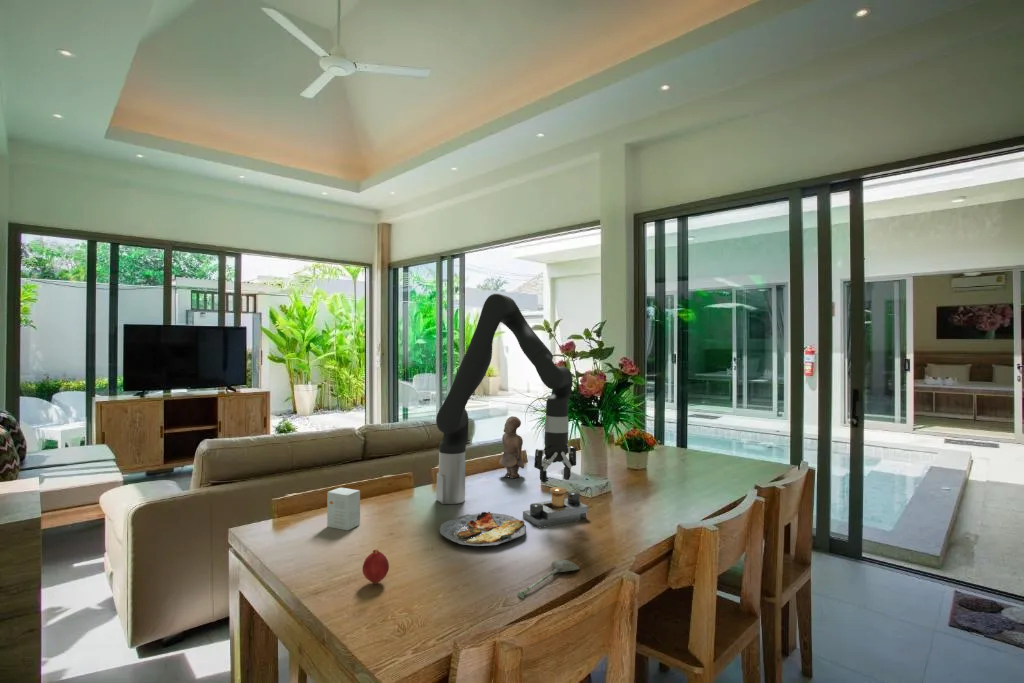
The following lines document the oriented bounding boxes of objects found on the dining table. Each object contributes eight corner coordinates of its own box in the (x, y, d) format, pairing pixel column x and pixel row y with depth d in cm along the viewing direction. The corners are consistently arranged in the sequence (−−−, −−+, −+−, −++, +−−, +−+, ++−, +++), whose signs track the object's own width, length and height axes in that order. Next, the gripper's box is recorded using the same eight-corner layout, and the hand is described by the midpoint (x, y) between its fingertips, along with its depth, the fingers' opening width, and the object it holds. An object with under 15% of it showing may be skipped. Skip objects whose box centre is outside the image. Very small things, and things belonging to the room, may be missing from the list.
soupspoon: (584, 572, 127) (562, 566, 131) (584, 558, 127) (561, 553, 131) (531, 604, 110) (508, 595, 114) (531, 587, 110) (507, 580, 114)
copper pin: (555, 521, 160) (555, 492, 160) (546, 516, 164) (547, 488, 164) (569, 519, 162) (569, 490, 162) (560, 514, 167) (560, 486, 167)
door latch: (539, 527, 154) (539, 504, 154) (522, 517, 163) (523, 495, 163) (587, 518, 163) (588, 496, 163) (569, 509, 172) (570, 488, 172)
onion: (365, 577, 120) (365, 543, 120) (390, 577, 121) (390, 543, 121) (360, 590, 114) (360, 554, 114) (386, 589, 115) (386, 553, 115)
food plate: (488, 513, 166) (488, 502, 166) (542, 534, 149) (542, 522, 149) (424, 535, 148) (424, 523, 148) (477, 561, 132) (477, 548, 132)
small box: (360, 525, 155) (360, 490, 155) (347, 531, 149) (347, 495, 150) (340, 521, 158) (340, 486, 158) (326, 526, 153) (326, 491, 153)
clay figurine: (493, 475, 214) (494, 415, 215) (512, 471, 220) (513, 413, 220) (511, 482, 204) (512, 419, 204) (531, 478, 210) (532, 417, 210)
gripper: (568, 426, 169) (567, 475, 169) (531, 429, 163) (529, 480, 163) (581, 430, 163) (580, 481, 163) (543, 433, 156) (541, 486, 156)
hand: (555, 480), depth 163 cm, fingers open, 8 cm apart
